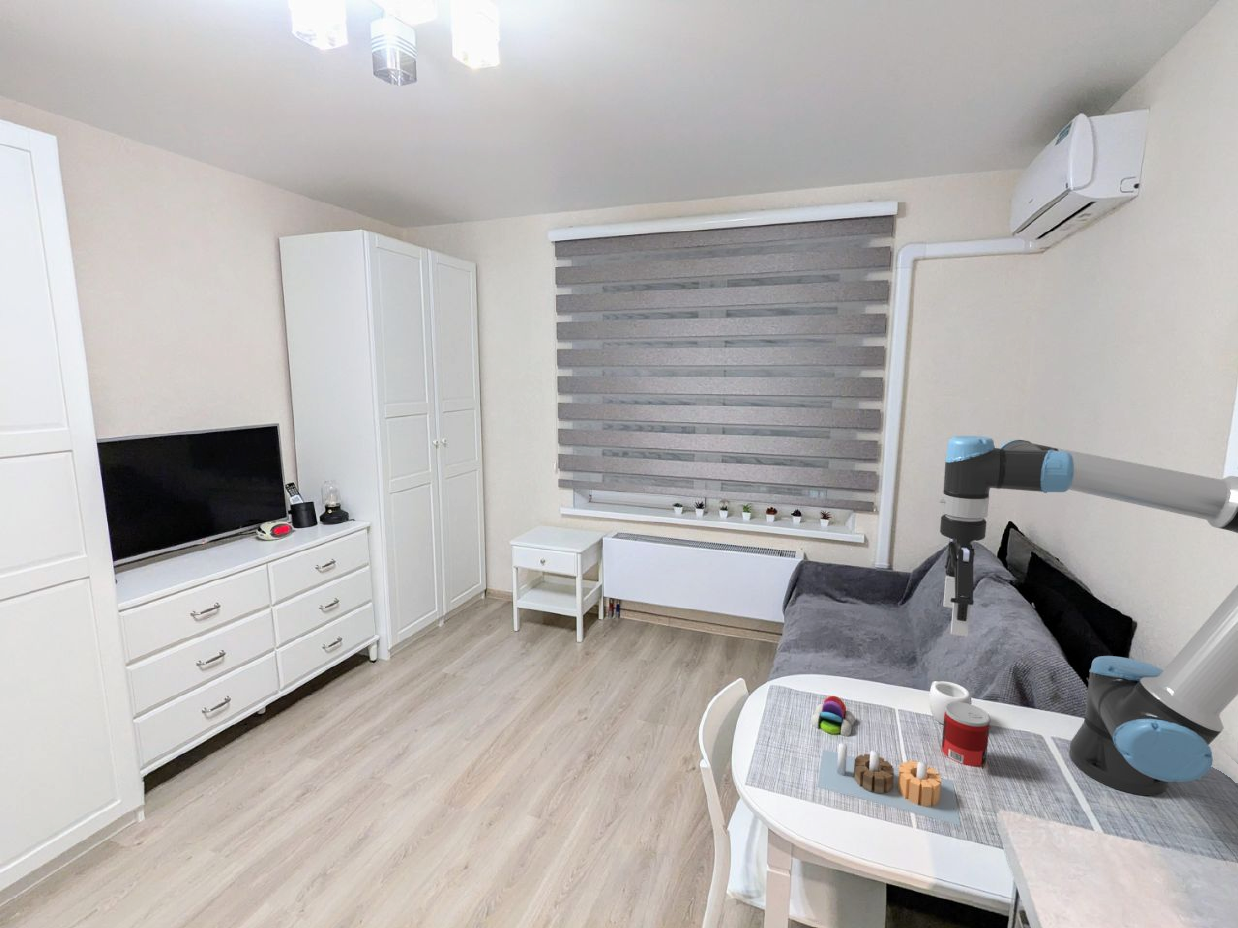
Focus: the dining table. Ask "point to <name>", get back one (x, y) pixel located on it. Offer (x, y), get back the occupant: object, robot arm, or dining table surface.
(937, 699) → the mug
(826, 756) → the gear board
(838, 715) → the multicolored petal toy
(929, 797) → the gear
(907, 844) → the dining table surface
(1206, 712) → the robot arm
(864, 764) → the gear
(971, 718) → the canned food
